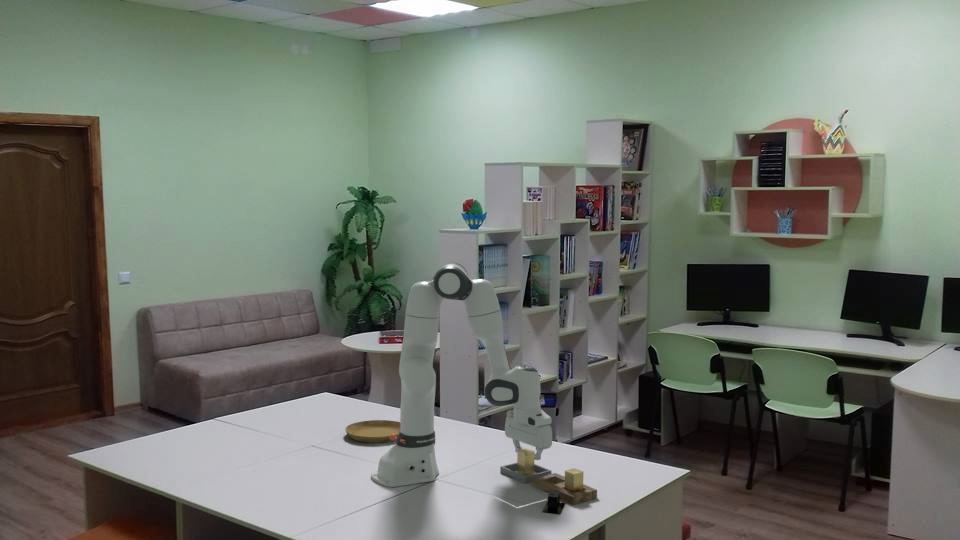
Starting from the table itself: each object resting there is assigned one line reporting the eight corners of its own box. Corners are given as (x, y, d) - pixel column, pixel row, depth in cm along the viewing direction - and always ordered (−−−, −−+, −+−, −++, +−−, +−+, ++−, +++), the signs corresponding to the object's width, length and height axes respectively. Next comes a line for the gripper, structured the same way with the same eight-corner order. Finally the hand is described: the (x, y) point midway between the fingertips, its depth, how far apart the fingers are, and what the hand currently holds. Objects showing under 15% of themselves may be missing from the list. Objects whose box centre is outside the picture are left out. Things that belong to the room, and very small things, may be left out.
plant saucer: (375, 424, 336) (375, 415, 335) (421, 434, 322) (421, 425, 321) (331, 438, 316) (331, 429, 316) (378, 449, 302) (378, 440, 302)
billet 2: (573, 499, 253) (573, 474, 252) (564, 496, 256) (564, 470, 255) (583, 497, 255) (583, 471, 254) (574, 493, 258) (574, 468, 258)
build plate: (546, 501, 253) (546, 486, 253) (569, 503, 251) (570, 488, 251) (537, 516, 241) (537, 500, 241) (562, 518, 239) (562, 503, 239)
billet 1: (524, 477, 271) (525, 453, 270) (517, 474, 274) (517, 450, 273) (534, 474, 273) (534, 451, 273) (526, 471, 277) (527, 448, 276)
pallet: (573, 504, 248) (573, 496, 248) (531, 486, 264) (531, 479, 263) (597, 497, 254) (597, 489, 254) (555, 480, 270) (555, 472, 269)
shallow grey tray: (525, 485, 265) (525, 477, 265) (500, 473, 276) (500, 466, 275) (551, 478, 272) (551, 470, 272) (525, 467, 282) (525, 460, 282)
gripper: (499, 410, 278) (500, 450, 280) (540, 423, 262) (541, 465, 263) (514, 406, 282) (515, 446, 283) (555, 419, 266) (555, 461, 267)
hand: (527, 456), depth 273 cm, fingers open, 8 cm apart
